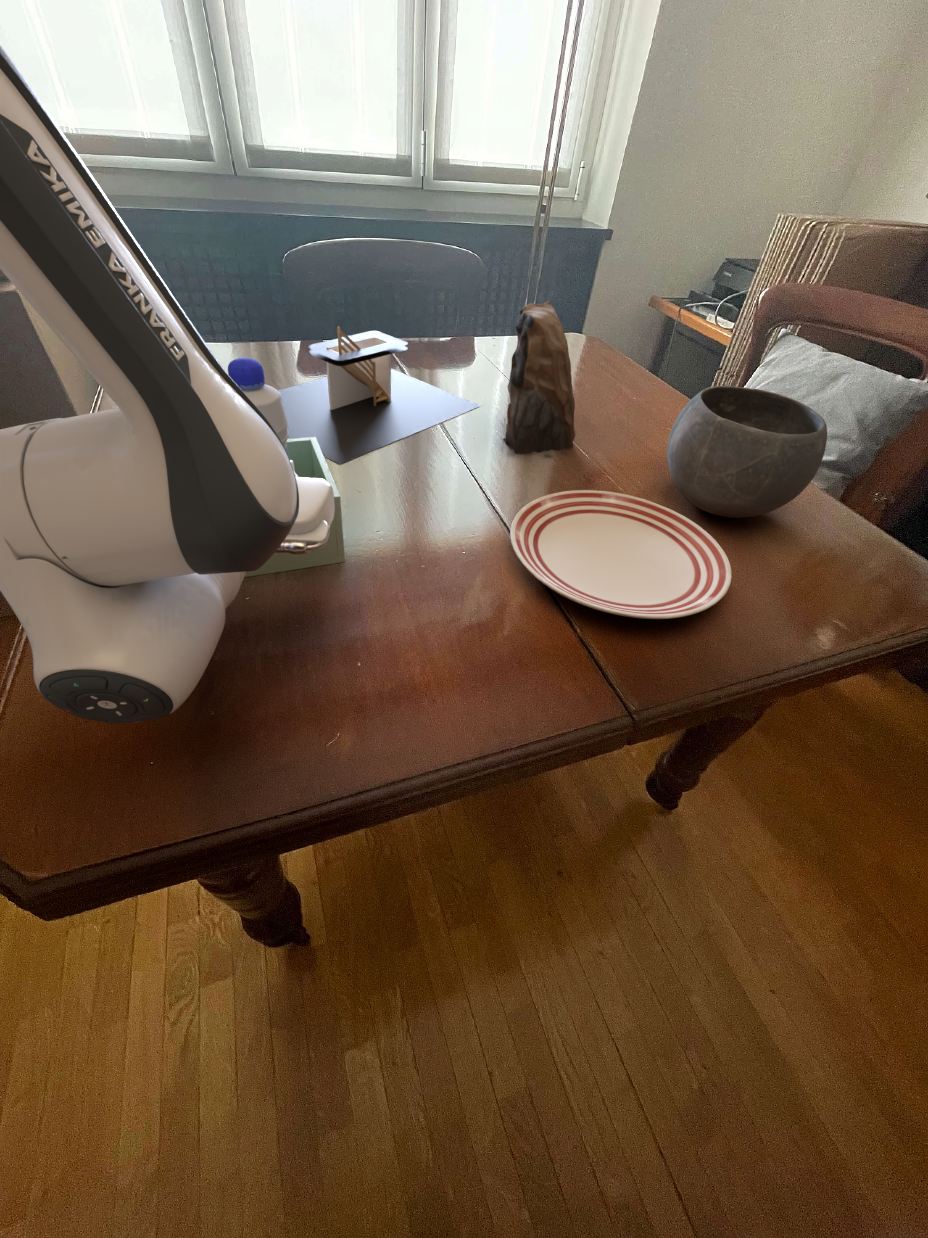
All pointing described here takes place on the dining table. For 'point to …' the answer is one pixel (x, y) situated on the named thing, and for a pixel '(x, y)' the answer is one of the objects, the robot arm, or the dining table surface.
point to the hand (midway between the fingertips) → (238, 463)
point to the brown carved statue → (540, 384)
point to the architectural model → (364, 398)
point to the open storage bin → (315, 466)
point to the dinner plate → (620, 554)
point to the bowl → (744, 450)
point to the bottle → (260, 394)
